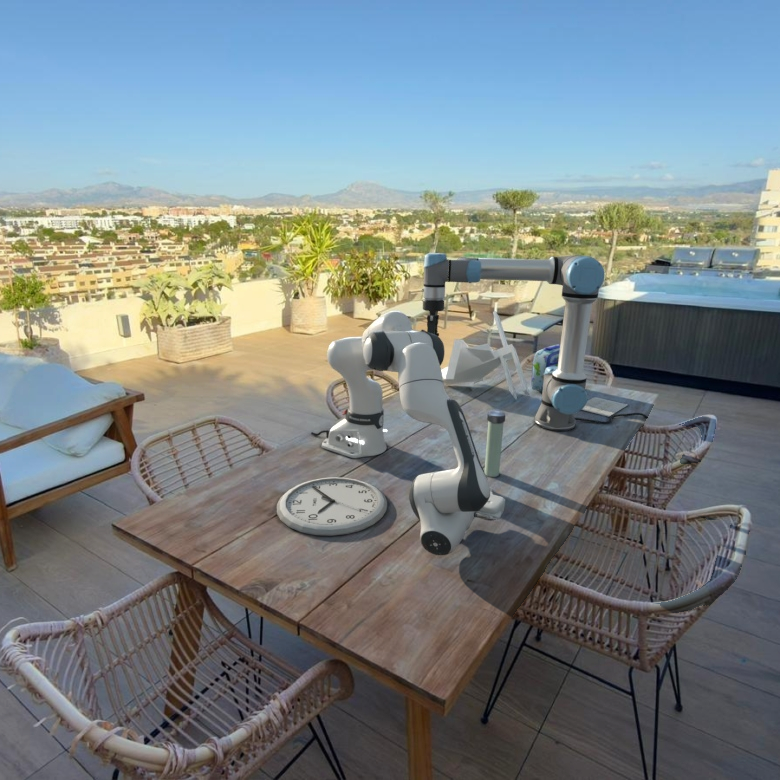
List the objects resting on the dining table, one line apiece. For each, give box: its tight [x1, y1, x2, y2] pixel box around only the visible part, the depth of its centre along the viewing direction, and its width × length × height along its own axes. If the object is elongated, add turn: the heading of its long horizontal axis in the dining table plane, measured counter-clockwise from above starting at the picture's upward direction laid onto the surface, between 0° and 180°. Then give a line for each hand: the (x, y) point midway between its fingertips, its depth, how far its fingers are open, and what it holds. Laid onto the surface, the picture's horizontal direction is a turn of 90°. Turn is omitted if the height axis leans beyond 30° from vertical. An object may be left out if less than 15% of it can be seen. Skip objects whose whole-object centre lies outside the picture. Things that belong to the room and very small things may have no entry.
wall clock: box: [276, 476, 388, 537], centre depth 142 cm, size 30×2×30 cm
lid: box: [487, 410, 506, 424], centre depth 157 cm, size 5×5×2 cm
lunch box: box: [530, 344, 560, 393], centre depth 247 cm, size 26×11×21 cm, turn 134°
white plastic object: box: [441, 310, 531, 400], centre depth 245 cm, size 37×45×31 cm
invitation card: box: [581, 396, 629, 418], centre depth 226 cm, size 21×1×15 cm
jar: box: [484, 420, 505, 478], centre depth 160 cm, size 4×4×20 cm
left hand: (472, 487), depth 141 cm, fingers open, 8 cm apart
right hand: (431, 358), depth 189 cm, fingers open, 13 cm apart
